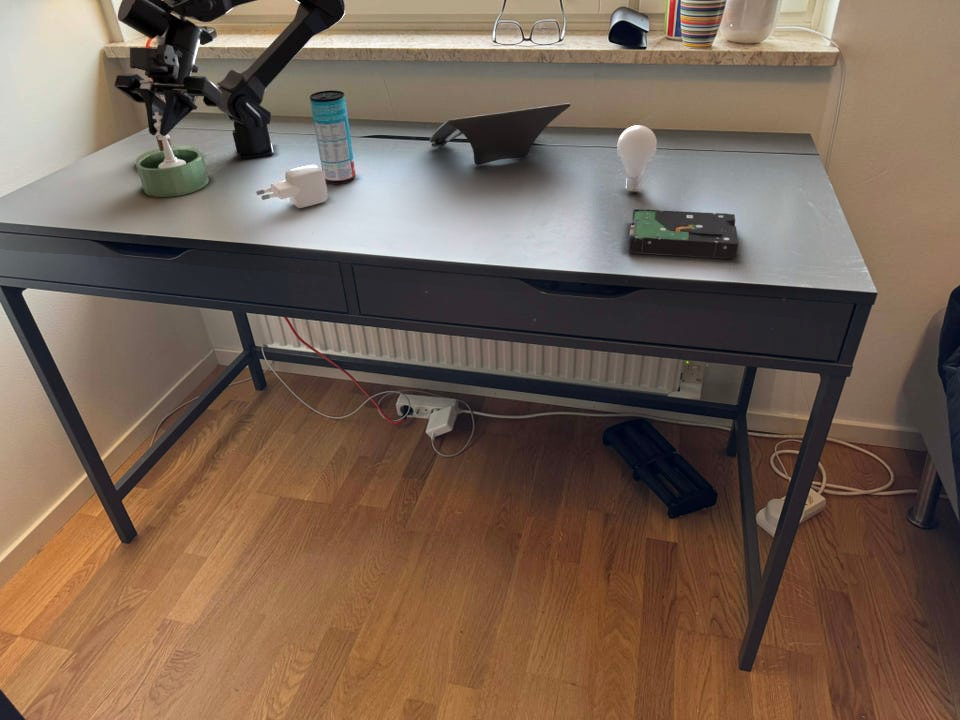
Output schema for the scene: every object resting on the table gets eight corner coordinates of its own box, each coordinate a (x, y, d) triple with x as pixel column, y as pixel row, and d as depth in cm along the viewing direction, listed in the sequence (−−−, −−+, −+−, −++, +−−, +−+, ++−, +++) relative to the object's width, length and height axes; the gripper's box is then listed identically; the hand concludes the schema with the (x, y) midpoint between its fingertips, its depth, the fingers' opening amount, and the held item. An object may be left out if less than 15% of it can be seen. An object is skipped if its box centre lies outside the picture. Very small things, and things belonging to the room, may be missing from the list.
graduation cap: (534, 163, 152) (527, 118, 150) (577, 143, 130) (569, 90, 128) (428, 179, 146) (420, 133, 145) (455, 162, 124) (445, 107, 123)
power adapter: (268, 219, 118) (260, 185, 115) (258, 210, 122) (250, 176, 118) (331, 202, 123) (325, 169, 120) (320, 194, 126) (314, 161, 123)
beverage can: (362, 175, 133) (350, 91, 125) (344, 186, 129) (331, 100, 120) (335, 171, 135) (322, 89, 127) (317, 182, 131) (302, 98, 123)
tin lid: (183, 147, 152) (176, 122, 149) (213, 159, 144) (207, 133, 142) (126, 163, 144) (117, 138, 142) (155, 177, 137) (146, 150, 134)
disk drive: (731, 230, 108) (630, 224, 111) (734, 213, 106) (632, 207, 109) (736, 262, 100) (627, 254, 103) (739, 243, 98) (629, 236, 101)
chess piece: (169, 162, 134) (153, 107, 128) (192, 163, 133) (176, 108, 127) (153, 172, 130) (135, 116, 124) (176, 173, 129) (159, 117, 123)
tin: (189, 170, 140) (182, 144, 137) (220, 183, 133) (213, 156, 130) (133, 187, 133) (124, 161, 130) (162, 202, 126) (154, 174, 124)
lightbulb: (654, 186, 123) (661, 121, 117) (649, 200, 118) (656, 133, 112) (617, 183, 125) (622, 119, 119) (610, 197, 120) (615, 131, 114)
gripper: (102, 24, 124) (79, 108, 121) (193, 25, 118) (170, 113, 116) (147, 61, 134) (126, 140, 132) (233, 64, 129) (212, 145, 127)
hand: (157, 134), depth 126 cm, fingers closed on chess piece
